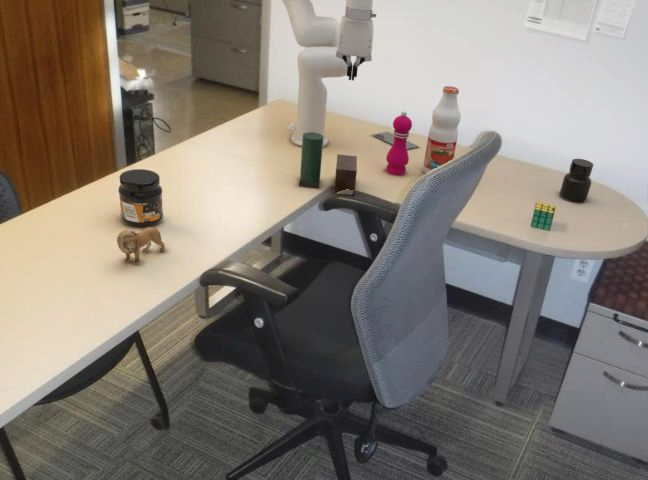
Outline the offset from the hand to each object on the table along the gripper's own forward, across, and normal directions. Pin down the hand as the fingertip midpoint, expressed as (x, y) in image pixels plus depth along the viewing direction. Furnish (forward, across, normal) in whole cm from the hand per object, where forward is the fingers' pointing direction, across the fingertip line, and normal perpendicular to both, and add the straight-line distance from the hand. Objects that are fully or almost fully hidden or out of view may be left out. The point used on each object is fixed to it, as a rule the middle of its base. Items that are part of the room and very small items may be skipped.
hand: (351, 79), depth 215 cm
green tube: (+28, +6, +14) cm, 32 cm away
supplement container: (+29, +51, +50) cm, 76 cm away
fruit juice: (+29, -31, -6) cm, 43 cm away
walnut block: (+29, -1, +14) cm, 32 cm away
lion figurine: (+29, +46, +69) cm, 88 cm away
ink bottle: (+29, -76, +2) cm, 81 cm away
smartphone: (+29, -18, -32) cm, 47 cm away
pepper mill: (+29, -18, -3) cm, 34 cm away
